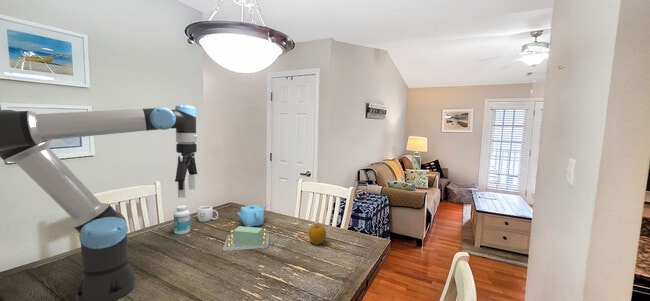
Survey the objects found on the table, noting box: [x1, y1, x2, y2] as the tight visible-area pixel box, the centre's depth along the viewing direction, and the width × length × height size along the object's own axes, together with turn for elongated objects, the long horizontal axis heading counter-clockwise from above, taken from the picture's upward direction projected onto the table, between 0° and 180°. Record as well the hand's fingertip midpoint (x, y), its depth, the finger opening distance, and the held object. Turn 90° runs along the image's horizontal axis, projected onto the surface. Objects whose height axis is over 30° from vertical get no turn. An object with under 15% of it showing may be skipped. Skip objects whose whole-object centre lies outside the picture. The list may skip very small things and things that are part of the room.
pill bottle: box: [173, 205, 191, 235], centre depth 137 cm, size 8×7×14 cm
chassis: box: [222, 228, 270, 252], centre depth 128 cm, size 20×14×4 cm
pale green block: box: [233, 225, 264, 243], centre depth 128 cm, size 12×6×5 cm, turn 82°
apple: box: [308, 224, 327, 246], centre depth 129 cm, size 9×8×9 cm
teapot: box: [236, 204, 268, 227], centre depth 150 cm, size 16×18×11 cm
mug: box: [196, 205, 219, 223], centre depth 155 cm, size 12×8×8 cm
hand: (187, 193), depth 113 cm, fingers open, 13 cm apart
